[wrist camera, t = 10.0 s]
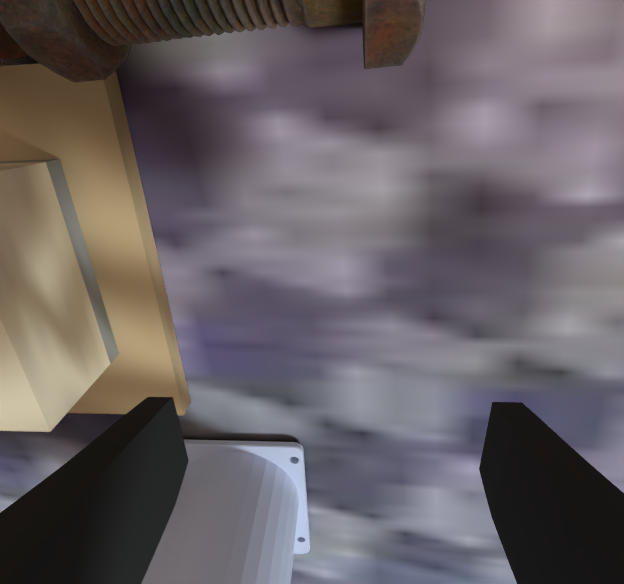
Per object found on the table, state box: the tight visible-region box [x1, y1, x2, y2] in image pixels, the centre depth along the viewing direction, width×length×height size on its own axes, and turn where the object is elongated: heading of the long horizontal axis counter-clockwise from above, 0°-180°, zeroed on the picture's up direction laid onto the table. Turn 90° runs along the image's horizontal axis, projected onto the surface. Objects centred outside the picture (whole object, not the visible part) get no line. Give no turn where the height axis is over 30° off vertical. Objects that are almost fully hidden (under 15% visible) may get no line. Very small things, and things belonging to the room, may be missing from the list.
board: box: [0, 64, 191, 415], centre depth 18 cm, size 16×10×1 cm, turn 3°
